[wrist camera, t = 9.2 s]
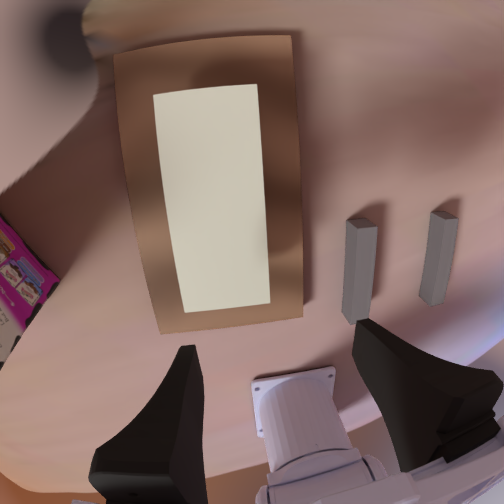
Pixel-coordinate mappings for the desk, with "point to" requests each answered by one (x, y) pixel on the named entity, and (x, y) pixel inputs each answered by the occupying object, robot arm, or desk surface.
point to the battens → (363, 263)
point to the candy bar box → (20, 288)
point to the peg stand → (273, 159)
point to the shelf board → (214, 194)
